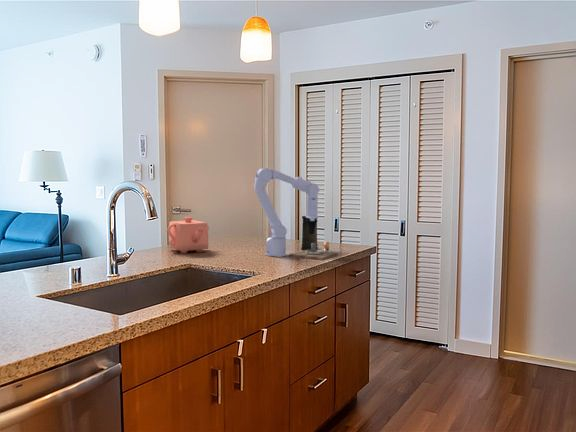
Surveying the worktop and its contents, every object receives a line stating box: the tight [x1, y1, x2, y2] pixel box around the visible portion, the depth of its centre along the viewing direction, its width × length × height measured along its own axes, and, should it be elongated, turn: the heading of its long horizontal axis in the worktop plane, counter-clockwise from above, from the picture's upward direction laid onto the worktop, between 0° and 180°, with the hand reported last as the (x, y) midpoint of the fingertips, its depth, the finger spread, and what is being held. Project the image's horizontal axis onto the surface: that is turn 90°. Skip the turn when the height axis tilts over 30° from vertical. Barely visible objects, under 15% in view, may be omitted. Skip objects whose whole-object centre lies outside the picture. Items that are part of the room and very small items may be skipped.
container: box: [300, 215, 319, 251], centre depth 276 cm, size 9×9×18 cm
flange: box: [305, 241, 331, 254], centre depth 256 cm, size 12×8×5 cm, turn 109°
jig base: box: [288, 243, 339, 261], centre depth 256 cm, size 18×18×6 cm
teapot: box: [166, 216, 210, 254], centre depth 266 cm, size 25×23×18 cm
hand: (311, 234), depth 259 cm, fingers closed
